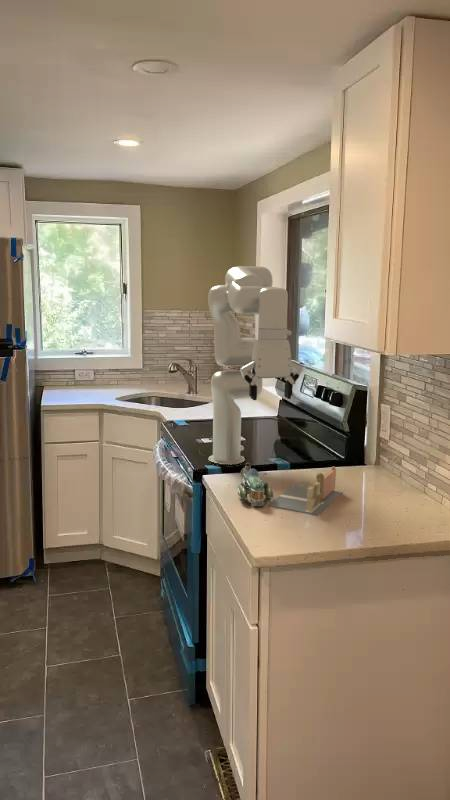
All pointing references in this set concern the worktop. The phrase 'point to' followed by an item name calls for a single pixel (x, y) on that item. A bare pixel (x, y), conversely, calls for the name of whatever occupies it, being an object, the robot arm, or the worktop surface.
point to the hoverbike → (254, 487)
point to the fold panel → (329, 482)
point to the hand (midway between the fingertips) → (270, 398)
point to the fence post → (315, 492)
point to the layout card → (301, 500)
